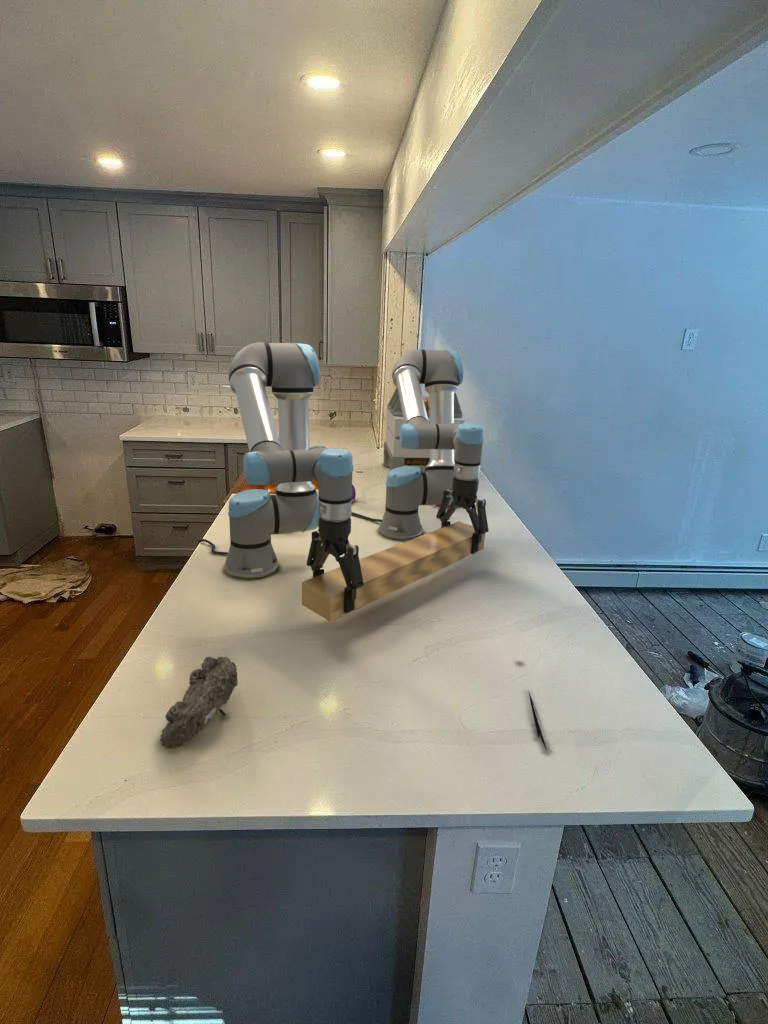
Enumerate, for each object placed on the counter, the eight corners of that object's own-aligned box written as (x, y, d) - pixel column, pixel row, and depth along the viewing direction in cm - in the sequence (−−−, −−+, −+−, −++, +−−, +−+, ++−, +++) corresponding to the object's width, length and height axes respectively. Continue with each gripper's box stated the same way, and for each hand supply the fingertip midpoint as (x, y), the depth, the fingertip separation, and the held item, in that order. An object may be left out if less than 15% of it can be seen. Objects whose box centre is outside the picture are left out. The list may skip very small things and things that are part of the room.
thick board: (456, 539, 180) (458, 521, 178) (483, 549, 174) (485, 530, 172) (301, 605, 137) (301, 581, 135) (329, 621, 130) (330, 597, 128)
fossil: (187, 658, 118) (238, 626, 113) (219, 688, 121) (270, 658, 116) (136, 742, 99) (195, 708, 94) (175, 775, 101) (234, 744, 96)
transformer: (382, 463, 289) (386, 382, 275) (445, 464, 293) (451, 384, 279) (390, 482, 257) (394, 392, 243) (460, 483, 261) (468, 394, 247)
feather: (520, 667, 129) (525, 661, 129) (546, 754, 103) (553, 747, 102) (514, 663, 129) (519, 657, 129) (538, 750, 103) (545, 742, 102)
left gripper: (290, 507, 134) (292, 590, 142) (357, 535, 120) (355, 626, 128) (315, 501, 140) (315, 581, 147) (382, 527, 125) (378, 615, 133)
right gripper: (427, 471, 170) (422, 539, 178) (492, 489, 156) (483, 562, 163) (443, 466, 175) (437, 533, 183) (506, 484, 161) (498, 555, 168)
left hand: (333, 602), depth 137 cm, fingers closed on thick board, 10 cm apart
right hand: (459, 547), depth 173 cm, fingers closed on thick board, 10 cm apart
